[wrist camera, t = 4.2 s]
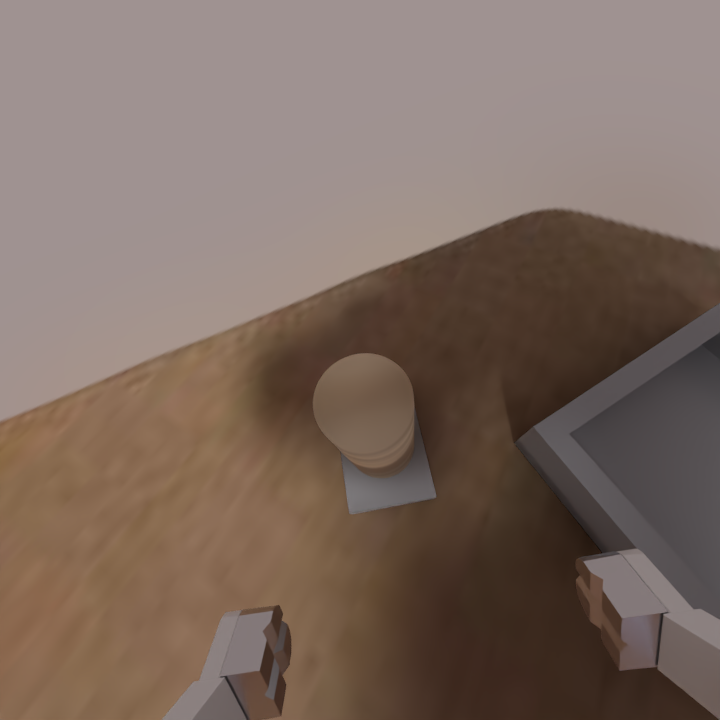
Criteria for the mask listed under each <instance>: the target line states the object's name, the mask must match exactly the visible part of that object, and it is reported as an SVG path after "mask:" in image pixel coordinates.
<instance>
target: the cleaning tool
mask: <svg viewBox="0 0 720 720" xmlns="http://www.w3.org/2000/svg"><path fill="white" fill-rule="evenodd" d="M313 412H314V417H315V420H316V422H317V424H318V426H319V428H320V430H321V431H322V433H323V434H324V435H325V436H326V437H327V438H328V439H329V440H330V441H331V442H332V443H333V444H334V445H335V446H336V447H337V448H338V449H339V450H340V452H341V459H342V466H343V473H344V480H345V487H346V494H347V501H348V508H349V514H357V513H363V512H368V511H373V510H378V509H384V508H389V507H394V506H399V505H405V504H410V503H415V502H420V501H426V500H431V499H435V498H436V497H437V496H436V492H435V488H434V484H433V480H432V476H431V472H430V468H429V464H428V460H427V456H426V451H425V447H424V443H423V439H422V435H421V431H420V427H419V423H418V419H417V415H416V411H415V407H414V393H413V388H412V385H411V382H410V380H409V378H408V376H407V375H406V373H405V372H404V371H403V369H402V368H401V367H400V366H399V365H397V364H396V363H395V362H393V361H392V360H390V359H388V358H386V357H384V356H381V355H377V354H371V353H360V354H354V355H350V356H347V357H345V358H342V359H340V360H339V361H337V362H335V363H334V364H333V365H331V366H330V367H329V368H328V369H327V370H326V371H325V372H324V374H323V375H322V376H321V378H320V379H319V381H318V383H317V386H316V388H315V391H314V396H313Z"/></svg>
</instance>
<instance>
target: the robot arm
mask: <svg viewBox="0 0 720 720" xmlns="http://www.w3.org/2000/svg"><path fill="white" fill-rule="evenodd" d="M575 568H576V570H577V571H578V573H579V574H580V576H579V577H578V578H577V579H576V591H577V594H578V598H579V601H580V603H581V606H582V608H583V610H584V612H585V614H586V615H587V617H588V619H589V621H590V622H592V623H593V624H594V625H596V626H597V627H599V628H600V629H601V641H602V642H603V644H604V646H605V647H606V649H607V651H608V652H609V654H610V656H611V657H612V659H613V661H614V662H615V664H616V666H617V667H618V669H619V671H621V670H631V669H641V668H650V667H658V668H657V669H658V670H659V671H660V672H662V673H663V674H664V675H665V676H666V677H668V678H669V679H670V680H671V681H673V682H674V683H675V684H676V685H677V686H679V687H680V688H681V689H682V690H684V691H685V692H686V693H687V694H688V695H690V696H691V697H692V698H693V699H695V700H696V701H697V702H698V703H700V704H701V705H702V706H703V707H704V708H706V709H707V710H708V711H709V712H711V713H712V714H713V715H714V716H715V717H717V718H718V719H719V720H720V619H718V618H716V617H714V616H712V615H711V614H709V613H707V612H705V611H704V610H702V609H693V608H692V607H691V606H690V605H689V604H688V602H687V601H686V600H685V599H684V598H683V597H682V596H681V595H680V593H679V592H678V591H677V590H676V589H675V588H674V587H673V586H672V584H671V583H670V582H669V581H668V580H667V579H666V578H665V577H664V576H663V574H662V573H661V572H660V571H659V570H658V569H657V568H656V567H655V565H654V564H653V563H652V562H651V561H650V560H649V559H648V558H647V557H646V555H645V554H644V553H643V552H642V551H640V550H639V549H629V550H623V551H617V552H614V551H613V552H607V553H602V554H596V555H590V556H584V557H579V558H577V559H576V564H575ZM282 616H283V612H282V610H281V608H280V606H279V605H276V606H269V607H261V608H253V609H245V610H238V611H231V612H225V614H224V615H223V617H222V618H221V620H220V623H219V626H218V628H217V631H216V634H215V637H214V640H213V642H212V645H211V648H210V651H209V654H208V657H207V659H206V662H205V665H204V668H203V671H202V673H201V676H200V679H199V681H194V682H193V683H192V684H191V685H190V686H189V688H188V689H187V690H186V691H185V692H184V694H183V695H182V696H181V697H180V698H179V700H178V701H177V702H176V703H175V704H174V705H173V707H172V708H171V709H170V710H169V711H168V713H167V714H166V715H165V716H164V717H163V719H162V720H262V719H268V718H274V717H280V716H281V715H282V708H283V702H284V696H285V690H286V683H285V680H284V678H283V676H282V675H283V674H284V672H285V671H286V669H287V668H288V666H289V665H290V658H291V634H290V630H289V627H288V624H286V623H285V622H283V621H282Z"/></svg>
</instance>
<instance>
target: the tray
mask: <svg viewBox="0 0 720 720" xmlns="http://www.w3.org/2000/svg"><path fill="white" fill-rule="evenodd" d="M514 443H515V445H516V446H517V447H518V448H519V450H520V451H521V452H522V453H523V455H524V456H525V457H526V458H527V460H528V461H529V462H530V463H531V465H532V466H533V467H534V468H535V470H536V471H537V472H538V473H539V475H540V476H541V477H542V478H543V479H544V481H545V482H546V483H547V484H548V486H549V487H550V488H551V489H552V491H553V492H554V493H555V494H556V496H557V497H558V498H559V499H560V501H561V502H562V503H563V504H564V506H565V507H566V508H567V509H568V511H569V512H570V513H571V514H572V515H573V517H574V518H575V519H576V520H577V522H578V523H579V524H580V525H581V527H582V528H583V529H584V530H585V532H586V533H587V534H588V535H589V537H590V538H591V539H592V540H593V542H594V543H595V544H596V545H597V547H598V548H599V549H600V550H601V551H602V553H607V552H613V551H614V552H617V551H623V550H629V549H639V550H640V551H642V552H643V553H644V554H645V555H646V557H647V558H648V559H649V560H650V561H651V562H652V563H653V564H654V565H655V567H656V568H657V569H658V570H659V571H660V572H661V573H662V574H663V576H664V577H665V578H666V579H667V580H668V581H669V582H670V583H671V584H672V586H673V587H674V588H675V589H676V590H677V591H678V592H679V593H680V595H681V596H682V597H683V598H684V599H685V600H686V601H687V602H688V604H689V605H690V606H691V607H692V608H693V609H702V610H704V611H705V612H707V613H709V614H711V615H712V616H714V617H716V618H718V619H720V303H719V304H718V305H716V306H714V307H713V308H711V309H710V310H708V311H707V312H705V313H704V314H702V315H701V316H699V317H698V318H696V319H695V320H693V321H692V322H690V323H689V324H687V325H686V326H684V327H683V328H681V329H680V330H678V331H677V332H675V333H674V334H672V335H671V336H669V337H668V338H666V339H665V340H663V341H662V342H660V343H659V344H657V345H656V346H654V347H653V348H651V349H650V350H648V351H647V352H645V353H644V354H642V355H641V356H639V357H638V358H636V359H635V360H633V361H632V362H630V363H629V364H627V365H625V366H624V367H622V368H621V369H619V370H618V371H616V372H615V373H613V374H612V375H610V376H609V377H607V378H606V379H604V380H603V381H601V382H600V383H598V384H597V385H595V386H594V387H592V388H591V389H589V390H588V391H586V392H585V393H583V394H582V395H580V396H579V397H577V398H576V399H574V400H573V401H571V402H570V403H568V404H567V405H565V406H564V407H562V408H561V409H559V410H558V411H556V412H555V413H553V414H552V415H550V416H549V417H547V418H546V419H544V420H543V421H541V422H540V423H538V424H536V425H535V426H533V427H532V428H531V429H530V430H529V431H527V432H526V433H525V434H524V435H523V436H521V437H520V438H519V439H518V440H517V441H515V442H514Z"/></svg>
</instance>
